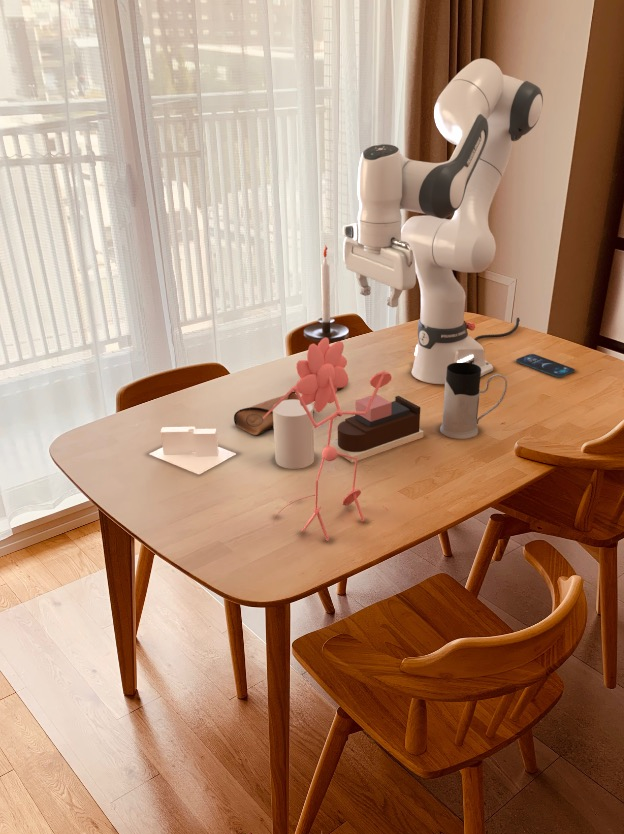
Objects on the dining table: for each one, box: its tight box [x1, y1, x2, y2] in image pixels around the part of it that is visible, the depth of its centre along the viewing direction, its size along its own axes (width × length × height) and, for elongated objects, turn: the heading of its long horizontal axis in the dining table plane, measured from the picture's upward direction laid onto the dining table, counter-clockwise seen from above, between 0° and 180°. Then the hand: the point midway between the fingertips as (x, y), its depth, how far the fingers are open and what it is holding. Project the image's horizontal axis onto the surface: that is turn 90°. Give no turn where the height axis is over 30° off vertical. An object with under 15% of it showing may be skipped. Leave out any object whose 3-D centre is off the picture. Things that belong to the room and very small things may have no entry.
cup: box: [273, 399, 315, 470], centre depth 166 cm, size 8×8×12 cm
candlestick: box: [303, 244, 350, 393], centre depth 193 cm, size 11×11×35 cm
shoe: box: [329, 395, 425, 463], centre depth 175 cm, size 20×8×8 cm, turn 129°
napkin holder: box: [148, 426, 237, 475], centre depth 169 cm, size 15×11×6 cm
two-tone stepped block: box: [354, 393, 410, 427], centre depth 173 cm, size 11×5×4 cm, turn 128°
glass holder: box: [439, 362, 508, 440], centre depth 179 cm, size 9×14×15 cm, turn 91°
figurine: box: [263, 337, 393, 542], centre depth 141 cm, size 15×26×35 cm, turn 137°
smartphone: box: [515, 353, 576, 378], centre depth 216 cm, size 8×1×15 cm
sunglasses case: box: [233, 391, 315, 436], centre depth 185 cm, size 18×7×7 cm, turn 136°
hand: (378, 300), depth 170 cm, fingers open, 8 cm apart
